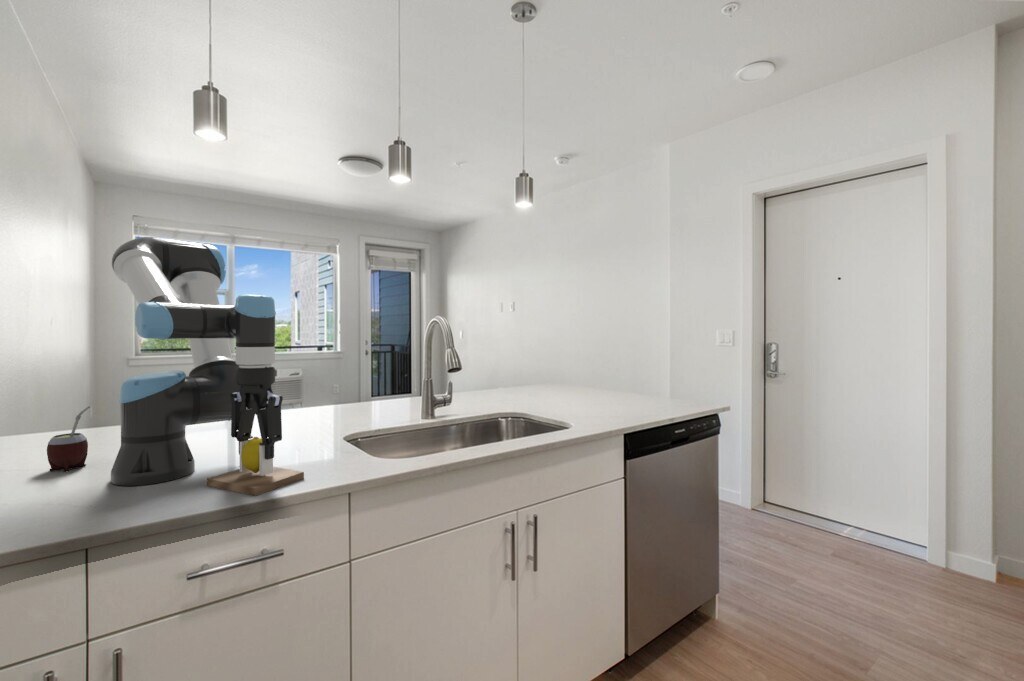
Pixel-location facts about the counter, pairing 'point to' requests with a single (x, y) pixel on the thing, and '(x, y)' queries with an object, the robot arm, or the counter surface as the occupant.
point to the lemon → (251, 454)
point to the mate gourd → (68, 449)
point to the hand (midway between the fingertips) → (256, 471)
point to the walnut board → (254, 480)
